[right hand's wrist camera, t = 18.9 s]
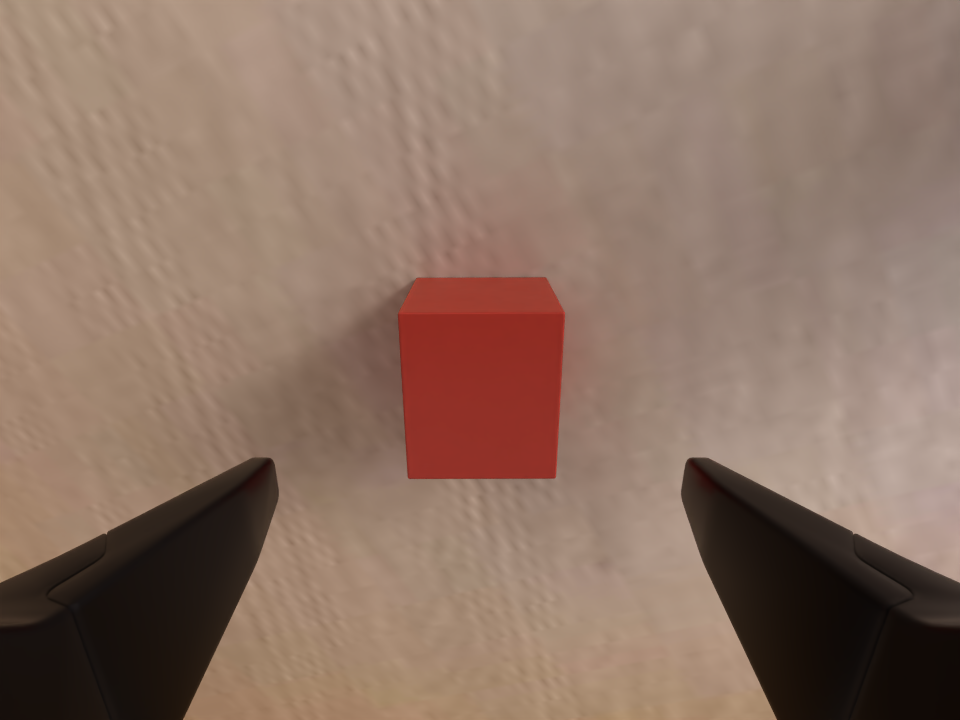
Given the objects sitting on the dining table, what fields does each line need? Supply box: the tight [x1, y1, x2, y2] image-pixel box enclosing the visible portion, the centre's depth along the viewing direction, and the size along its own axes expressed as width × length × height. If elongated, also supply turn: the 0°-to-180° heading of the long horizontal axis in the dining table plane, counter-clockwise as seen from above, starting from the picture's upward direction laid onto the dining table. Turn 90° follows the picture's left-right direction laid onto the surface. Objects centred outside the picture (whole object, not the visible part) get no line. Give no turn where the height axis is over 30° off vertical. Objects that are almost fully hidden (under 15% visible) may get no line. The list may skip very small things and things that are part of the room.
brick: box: [398, 278, 565, 479], centre depth 17 cm, size 4×5×4 cm
